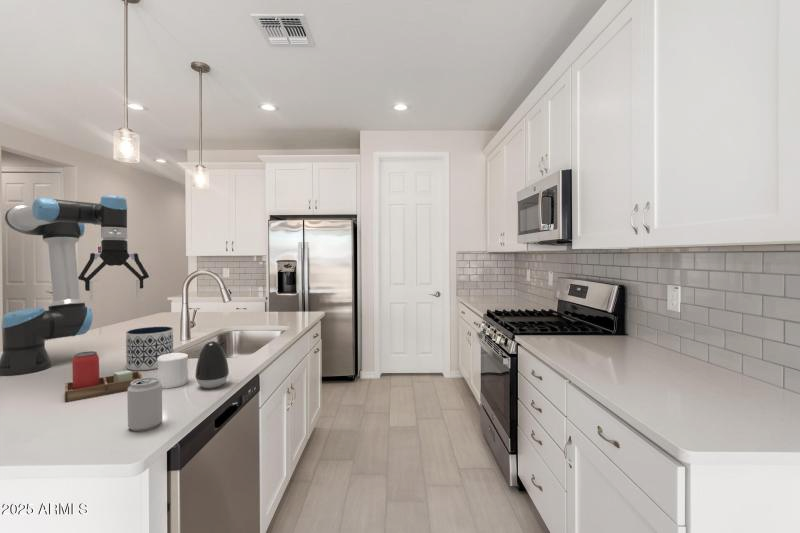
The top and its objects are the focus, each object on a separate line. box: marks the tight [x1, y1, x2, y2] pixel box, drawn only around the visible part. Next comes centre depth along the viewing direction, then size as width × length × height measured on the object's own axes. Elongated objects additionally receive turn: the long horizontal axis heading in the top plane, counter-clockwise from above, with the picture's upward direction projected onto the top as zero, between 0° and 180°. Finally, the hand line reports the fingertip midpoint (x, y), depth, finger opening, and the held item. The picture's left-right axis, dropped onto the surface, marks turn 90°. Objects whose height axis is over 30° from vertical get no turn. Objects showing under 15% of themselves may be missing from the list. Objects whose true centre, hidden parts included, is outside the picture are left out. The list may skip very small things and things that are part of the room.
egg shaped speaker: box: [194, 340, 230, 389], centre depth 130 cm, size 10×10×15 cm
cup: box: [156, 352, 189, 389], centre depth 132 cm, size 10×10×10 cm
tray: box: [64, 371, 144, 403], centre depth 126 cm, size 10×20×3 cm, turn 131°
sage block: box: [113, 369, 133, 383], centre depth 129 cm, size 4×4×4 cm
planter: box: [125, 326, 174, 372], centre depth 155 cm, size 16×16×14 cm
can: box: [126, 376, 163, 432], centre depth 99 cm, size 8×8×12 cm
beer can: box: [71, 350, 100, 390], centre depth 123 cm, size 7×7×12 cm
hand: (115, 299), depth 138 cm, fingers open, 13 cm apart
